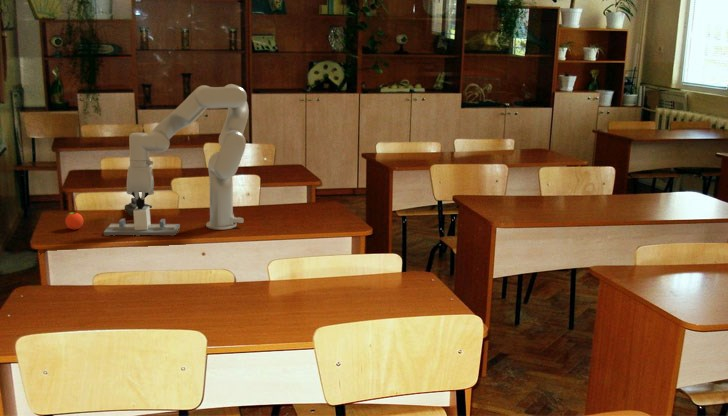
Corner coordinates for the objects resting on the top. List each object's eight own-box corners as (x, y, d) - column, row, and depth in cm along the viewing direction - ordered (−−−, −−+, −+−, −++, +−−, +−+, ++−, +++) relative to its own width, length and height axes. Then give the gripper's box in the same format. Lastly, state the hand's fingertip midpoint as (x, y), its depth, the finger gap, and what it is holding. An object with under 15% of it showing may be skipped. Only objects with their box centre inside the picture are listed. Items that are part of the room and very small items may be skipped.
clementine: (59, 230, 304) (58, 213, 303) (71, 226, 311) (70, 209, 309) (76, 232, 302) (75, 215, 301) (87, 228, 309) (86, 211, 307)
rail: (175, 226, 310) (175, 219, 309) (174, 229, 305) (174, 221, 305) (111, 226, 307) (110, 218, 306) (108, 229, 303) (108, 221, 302)
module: (150, 225, 310) (149, 206, 308) (147, 229, 303) (145, 210, 301) (138, 225, 309) (136, 206, 307) (134, 230, 303) (133, 210, 301)
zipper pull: (132, 207, 319) (122, 194, 340) (133, 222, 320) (123, 209, 342) (153, 205, 323) (143, 193, 344) (154, 220, 324) (143, 207, 346)
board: (179, 227, 314) (179, 224, 314) (175, 235, 302) (175, 232, 301) (111, 227, 311) (110, 223, 311) (103, 235, 299) (103, 231, 298)
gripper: (160, 162, 304) (161, 206, 309) (122, 161, 303) (123, 205, 307) (157, 166, 297) (157, 210, 301) (118, 164, 296) (119, 210, 300)
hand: (140, 208), depth 304 cm, fingers closed
